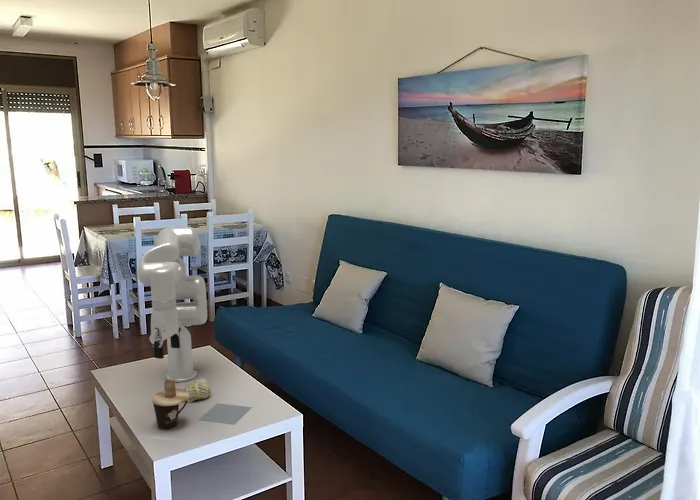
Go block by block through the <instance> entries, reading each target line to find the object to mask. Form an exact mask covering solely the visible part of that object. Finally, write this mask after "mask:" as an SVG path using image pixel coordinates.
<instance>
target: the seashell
mask: <svg viewBox="0 0 700 500" xmlns="http://www.w3.org/2000/svg"><path fill="white" fill-rule="evenodd" d="M207 381H208V380H206V379H205V378H201V379H197V380H196V381H194V382H192V383H190V384H188V385H187V386H186V387H185V388H184V390H186V391H188V393H189V398H188V399H187V404H190V403H192V402H194V401H196V400H206V399H208V398H210V395H211V393H212V390H211V389H212V388H211V387H210V385H209V383H208V382H207ZM183 404H185V402H183Z"/></svg>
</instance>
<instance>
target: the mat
mask: <svg viewBox="0 0 700 500" xmlns="http://www.w3.org/2000/svg"><path fill="white" fill-rule="evenodd" d="M252 408H253V407H252V406H245V405H237V404H227V403H218V402H217V403H216V404H215V405H214V406H212V408H209V410H208V411H207V412H206V413H204V414H203V415H202V416H201V417H200V418H199V419H198V421H204V422H211V423H218V424H224V425H225V424H226V425H234V426H235V425H236V424H237V423H238V422H239V421H240V420H241V419H242V418H243V417H244V416H245V415H247V413H248V412H249V411H251V410H252Z"/></svg>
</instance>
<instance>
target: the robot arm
mask: <svg viewBox="0 0 700 500" xmlns="http://www.w3.org/2000/svg"><path fill="white" fill-rule="evenodd" d="M153 243H154V245H153V246H154V248H153V247H152V248H151V249H150V250H148V251H147V252H145V253H144V254H143V255H142V256H141V258H140V260H139V264H138V270H137V278H138V280H139V282H140V283H141V285H144V286H150V292H151V293H150V294H151V295H150V296H151V306H152V310H151V316H150V336H149V342H150V344H151V346H152V347H153V354H154V358H155V359H160V360H161V359H164V358H165V356H164V355H165V354H164V352H165V351H164V346H163V343H164V341H165V340H166V342H167V343H166V345H167V357H168V358H167V359H168V372H167V373H166V374H165V379H166V381H167V380H175V383H182V382H188V381H191V380H193V379H195V378H196V377H197V376H198V372H197V370H196V369H194V367H195V366H197V365H198V361H197V360H196V359H195V360H193V351H192V335H191V332H190V331H189V330H188V328H187V327H188V326H197V325H203V324H205V323H206V322H207V320H208V304H207V301H208V299H207V289H206V282H205V279H204V277H202V276H201V275H187V270H186V269H187V267H186V263H185V261H184V260H183V258H182V257H194V256H198V255H199V253H200V251H201V242H200V237H199V235H198V232H197V231H196V229H195V228H194V227H192V226H169V227H165V228H163V229H161V230H160V231H159V232H158V234H157V237H156V238H155V240H154V242H153ZM177 300H179V301H180V300H194V301H187V302H185V301H184V302H177ZM158 341H159V342H158Z"/></svg>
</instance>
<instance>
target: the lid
mask: <svg viewBox="0 0 700 500" xmlns="http://www.w3.org/2000/svg"><path fill="white" fill-rule="evenodd" d="M163 383H164V385H163V387H164V390H161V391H158V392H157V393H154V395H152V397H151V399H152V400H151V401H152V404H153V403H154V404H155V405H158V406H173V405H177V404H179V405H180V404H182V403H183V404H184V402H185V401H186V400H187V399H188V398H189V393H188V391H186V390H184V389H185V388H184V389H182V388H177V387H176V382H175V380H167V379H166V380H165V381H163Z"/></svg>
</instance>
